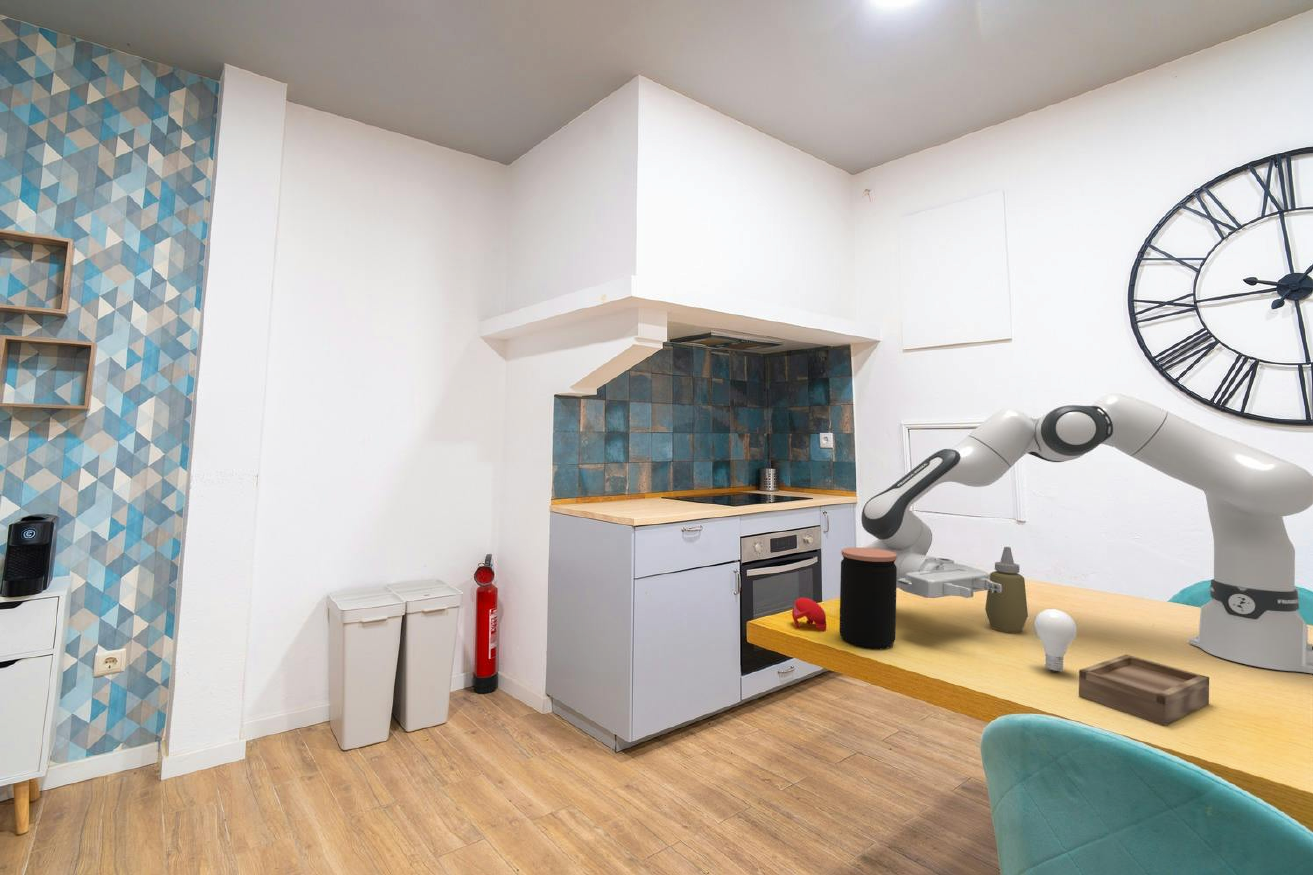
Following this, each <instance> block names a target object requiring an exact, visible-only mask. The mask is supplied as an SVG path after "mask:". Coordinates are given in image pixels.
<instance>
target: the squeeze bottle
mask: <svg viewBox="0 0 1313 875" xmlns="http://www.w3.org/2000/svg"><path fill="white" fill-rule="evenodd" d="M994 570H995V571H992V572H989V574H990V581H992V582H994V583H998V584H1001V586H1002V591H1001V593H992V592H989V591H988V590H987V593H986V600H985V607H984V610H985V614H986V616H987V619H988V622H989V626H990V628H992V629H994V630H997V631H1000V632H1004V633H1014V634H1017V633H1021V632H1022V631H1023V629H1024V627H1025V624H1026V622H1027V620H1028V617H1029V610H1028V604H1027V603H1028V602H1027V593H1026V592H1027V590H1026V583H1025V582H1026V581H1025V577H1024V576H1023V575H1022V574H1020V564H1017V563H1015V562H1014V556H1013V553H1012V549H1011V546H1004V547H1003V551H1002V554H1001V557H1000V560H999V561H996V562H994Z"/></svg>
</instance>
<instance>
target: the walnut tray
mask: <svg viewBox="0 0 1313 875" xmlns="http://www.w3.org/2000/svg"><path fill="white" fill-rule="evenodd" d="M1078 697H1079V698H1082V699H1084V700H1085V699H1086V700H1089V701H1091V702H1094V703H1097V704H1100V705H1103V706H1106V707H1109V708H1110V709H1111V708H1112V709H1114V710H1117V711H1121V712H1123V713H1126V714H1129V715H1131V716H1135V717H1138V718H1140V719H1143V720H1146V721H1150V722H1151V723H1155V724H1158V725H1161V726H1164V727H1165V726H1168V725H1169V724H1172V723H1174V722H1175V721H1178V720H1180V719H1181V718H1183V717H1186V716H1189V715H1190V714H1191V713H1194V712H1195V711H1198V710H1200V709H1202V708H1203V707H1205V706H1207V705H1209V704H1210V677H1209V676H1206V675H1202V674H1198V673H1195V672H1192V671H1188V670H1184V669H1180V668H1177V667H1173V666H1169V665H1166V664H1162V663H1159V662H1156V661H1151V660H1147V659H1145V658H1141V657H1138V656H1133V655H1130V654H1123V655H1120V656H1118V657H1114V658H1111V659H1108V660H1105V661H1102V662H1099V663H1096V664H1093V665H1089V666H1086V667H1083V668H1081V669H1079V670H1078Z"/></svg>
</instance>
